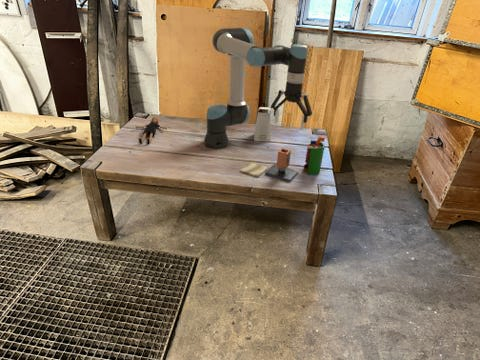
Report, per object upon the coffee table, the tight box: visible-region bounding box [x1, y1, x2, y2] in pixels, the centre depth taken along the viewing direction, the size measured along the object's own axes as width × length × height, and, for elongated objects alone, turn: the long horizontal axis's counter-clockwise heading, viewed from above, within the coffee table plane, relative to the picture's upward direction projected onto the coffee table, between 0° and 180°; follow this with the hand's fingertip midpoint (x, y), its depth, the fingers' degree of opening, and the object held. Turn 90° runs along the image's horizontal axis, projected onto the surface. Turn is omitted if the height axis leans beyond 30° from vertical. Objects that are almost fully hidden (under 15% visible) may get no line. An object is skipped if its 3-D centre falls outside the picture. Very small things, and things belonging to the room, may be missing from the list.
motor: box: [302, 135, 326, 176], centre depth 170 cm, size 10×9×20 cm
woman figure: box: [134, 117, 168, 145], centre depth 206 cm, size 20×6×35 cm
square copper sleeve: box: [276, 147, 292, 170], centre depth 165 cm, size 5×5×9 cm
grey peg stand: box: [264, 152, 299, 183], centre depth 167 cm, size 14×11×12 cm
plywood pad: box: [239, 161, 269, 178], centre depth 172 cm, size 11×11×1 cm
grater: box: [253, 106, 272, 143], centre depth 204 cm, size 10×10×20 cm
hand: (288, 125), depth 157 cm, fingers open, 13 cm apart
